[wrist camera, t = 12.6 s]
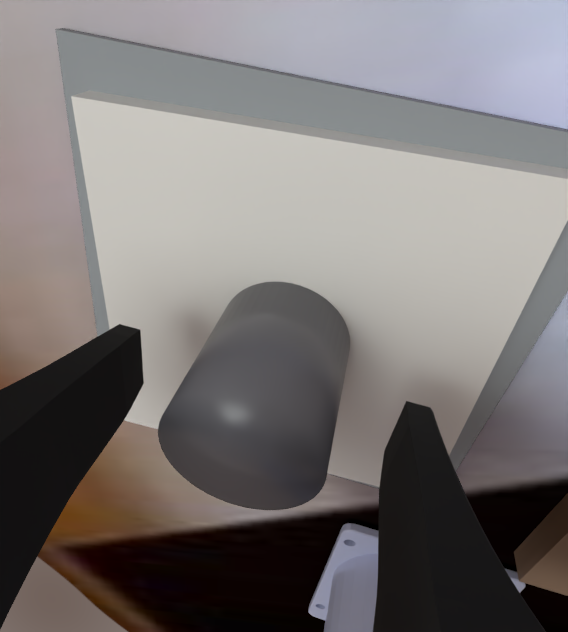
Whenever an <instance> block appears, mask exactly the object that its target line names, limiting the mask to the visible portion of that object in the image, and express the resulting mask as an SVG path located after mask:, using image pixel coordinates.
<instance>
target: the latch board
mask: <svg viewBox="0 0 568 632" xmlns="http://www.w3.org/2000/svg"><path fill="white" fill-rule="evenodd" d="M514 556H515V561H516V567H517V573H518V579H519V581H520V582H523V583H527V584H530V585H533V586H537V587H540V588H543V589H547V590H550V591H553V592H557V593H560V594H563V595H567V596H568V493H567V494H566V495H565V497H564V498H563V499H562V500H561V501H560V502H559V503H558V504H557V505H556V506H555V507H554V509H553V510H552V511H551V512H550V513H549V514H548V515H547V516H546V517H545V518H544V519H543V521H542V522H541V523H540V524H539V525H538V526H537V527H536V528H535V529H534V530H533V531H532V533H531V534H530V535H529V536H528V537H527V538H526V539H525V540H524V541H523V542H522V544H521V545H520V546H519V547H518V548H517V549H516V550H515V551H514Z"/></svg>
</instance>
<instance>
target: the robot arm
mask: <svg viewBox="0 0 568 632" xmlns="http://www.w3.org/2000/svg"><path fill="white" fill-rule="evenodd" d="M143 384H144V379H143V363H142V348H141V332H140V329H136V328H132V327H129V326H125V325H121V324H119V325H117V326H115V327H113V328H112V329H110V330H108V331H106V332H105V333H103V334H101V335H100V336H98V337H96V338H95V339H93V340H91V341H89V342H88V343H86V344H84V345H83V346H81V347H79V348H78V349H76V350H74V351H73V352H71V353H69V354H67V355H66V356H64V357H62V358H60V359H58V360H57V361H55V362H53V363H51V364H50V365H48V366H46V367H44V368H42V369H40V370H38V371H37V372H35V373H33V374H31V375H29V376H27V377H25V378H23V379H21V380H19V381H17V382H15V383H13V384H11V385H10V386H7V387H5V388H3V389H1V390H0V629H1V627H2V624H3V622H4V620H5V618H6V616H7V614H8V612H9V610H10V608H11V606H12V604H13V602H14V600H15V598H16V596H17V594H18V592H19V590H20V588H21V586H22V584H23V582H24V580H25V578H26V576H27V574H28V572H29V571H30V569H31V567H32V565H33V563H34V561H35V559H36V557H37V556H38V554H39V552H40V550H41V548H42V546H43V544H44V543H45V541H46V539H47V537H48V535H49V533H50V532H51V530H52V528H53V526H54V525H55V523H56V521H57V519H58V518H59V516H60V514H61V512H62V511H63V509H64V507H65V505H66V503H67V502H68V500H69V498H70V497H71V495H72V494H73V492H74V491H75V489H76V488H77V486H78V484H79V483H80V482H81V480H82V479H83V477H84V476H85V474H86V473H87V472H88V470H89V469H90V467H91V466H92V465H93V463H94V462H95V460H96V459H97V457H98V456H99V455H100V453H101V452H102V450H103V449H104V448H105V446H106V445H107V443H108V442H109V441H110V439H111V438H112V436H113V435H114V433H115V432H116V431H117V429H118V428H119V426H120V425H121V423H122V422H123V420H124V419H125V417H126V416H127V414H128V412H129V411H130V409H131V407H132V405H133V403H134V401H135V400H136V398H137V396H138V394H139V392H140V390H141V388H142V386H143ZM524 588H525V583H523V582H520V581H519V579H518V573H517V572H515V571H512V570H509V569H505V568H504V567H503V565H502V563H501V562H500V560H499V558H498V556H497V555H496V553H495V551H494V549H493V548H492V546H491V544H490V542H489V540H488V539H487V537H486V535H485V533H484V531H483V529H482V527H481V525H480V523H479V521H478V519H477V517H476V515H475V513H474V511H473V509H472V507H471V505H470V503H469V501H468V499H467V497H466V494H465V492H464V490H463V488H462V485H461V483H460V481H459V478H458V476H457V474H456V472H455V469H454V467H453V465H452V462H451V460H450V457H449V455H448V452H447V449H446V447H445V444H444V442H443V439H442V436H441V433H440V431H439V428H438V425H437V422H436V419H435V416H434V413H433V411H432V409H431V408H430V407H427V406H423V405H420V404H416V403H412V402H408V401H406V403H405V405H404V407H403V409H402V412H401V414H400V416H399V419H398V421H397V423H396V425H395V428H394V430H393V432H392V434H391V437H390V439H389V441H388V443H387V446H386V448H385V450H384V456H383V464H382V471H381V479H380V487H379V530H375V529H371V528H368V527H364V526H361V525H358V524H354V523H347V524H344V525H343V526H342V528H341V531H340V533H339V535H338V538H337V540H336V542H335V545H334V547H333V550H332V552H331V554H330V557H329V559H328V562H327V564H326V566H325V569H324V571H323V573H322V576H321V578H320V581H319V583H318V585H317V588H316V590H315V593H314V595H313V597H312V600H311V602H310V604H309V613H310V614H311V615H312V616H314V617H317V618H320V619H323V620H325V627H324V632H546V631H545V630H544V628H543V627H542V625H541V624H540V623H539V621H538V620H537V618H536V617H535V615H534V614H533V612H532V611H531V609H530V608H529V607H528V605H527V604H526V602H525V601H524V599H523V598H522V596H521V594H520V592H521V591H522V590H523V589H524Z"/></svg>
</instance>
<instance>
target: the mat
mask: <svg viewBox="0 0 568 632" xmlns="http://www.w3.org/2000/svg"><path fill="white" fill-rule="evenodd" d="M56 36H57V44H58V51H59V58H60V66H61V73H62V80H63V87H64V95H65V102H66V109H67V117H68V124H69V131H70V138H71V146H72V153H73V160H74V168H75V175H76V182H77V190H78V197H79V204H80V211H81V219H82V226H83V233H84V241H85V248H86V255H87V263H88V270H89V277H90V284H91V292H92V299H93V306H94V314H95V321H96V328H97V335H98V336H100V335H101V334H103V333H105V332H106V331H108V330H110V329H109V323H108V317H107V311H106V305H105V299H104V292H103V286H102V280H101V274H100V268H99V262H98V256H97V250H96V244H95V238H94V232H93V226H92V220H91V214H90V208H89V202H88V196H87V190H86V184H85V178H84V172H83V166H82V159H81V153H80V147H79V141H78V135H77V129H76V123H75V117H74V111H73V105H72V99H71V96H73V95H76V94H80V93H83V92H86V91H89V90H90V91H96V92H102V93H108V94H114V95H120V96H127V97H133V98H139V99H145V100H151V101H157V102H163V103H169V104H175V105H181V106H187V107H194V108H200V109H206V110H212V111H218V112H224V113H230V114H236V115H242V116H248V117H255V118H261V119H267V120H273V121H279V122H285V123H291V124H297V125H303V126H309V127H315V128H322V129H328V130H334V131H340V132H346V133H352V134H358V135H364V136H370V137H376V138H382V139H389V140H395V141H401V142H407V143H413V144H419V145H425V146H431V147H437V148H443V149H449V150H456V151H462V152H468V153H474V154H480V155H486V156H492V157H498V158H504V159H510V160H517V161H523V162H529V163H535V164H541V165H547V166H553V167H559V168H565V169H568V130H566V129H561V128H556V127H551V126H547V125H542V124H537V123H532V122H527V121H522V120H517V119H512V118H507V117H502V116H497V115H492V114H487V113H482V112H477V111H472V110H467V109H462V108H457V107H452V106H447V105H442V104H437V103H432V102H427V101H422V100H417V99H412V98H407V97H402V96H397V95H392V94H387V93H382V92H377V91H372V90H367V89H363V88H358V87H353V86H348V85H343V84H338V83H333V82H328V81H323V80H318V79H313V78H308V77H303V76H298V75H293V74H288V73H283V72H278V71H273V70H268V69H263V68H258V67H253V66H248V65H243V64H238V63H233V62H228V61H223V60H218V59H213V58H208V57H203V56H198V55H193V54H188V53H183V52H179V51H174V50H169V49H164V48H159V47H154V46H149V45H144V44H139V43H134V42H129V41H124V40H119V39H114V38H109V37H104V36H99V35H94V34H89V33H84V32H79V31H74V30H69V29H64V28H61V29H56ZM567 291H568V221H567V223H566V225H565V227H564V229H563V231H562V233H561V235H560V237H559V239H558V241H557V242H556V244H555V246H554V248H553V250H552V252H551V254H550V256H549V258H548V260H547V262H546V264H545V266H544V268H543V270H542V272H541V274H540V276H539V278H538V280H537V282H536V284H535V286H534V288H533V290H532V292H531V294H530V296H529V298H528V300H527V302H526V304H525V306H524V308H523V310H522V312H521V314H520V316H519V318H518V320H517V322H516V324H515V326H514V328H513V330H512V332H511V334H510V336H509V338H508V340H507V342H506V344H505V346H504V348H503V350H502V352H501V354H500V356H499V358H498V360H497V362H496V364H495V366H494V368H493V370H492V372H491V374H490V376H489V378H488V380H487V382H486V383H485V385H484V387H483V389H482V391H481V393H480V395H479V397H478V399H477V401H476V403H475V405H474V407H473V409H472V411H471V413H470V415H469V417H468V419H467V421H466V423H465V425H464V427H463V429H462V431H461V433H460V435H459V437H458V439H457V441H456V443H455V445H454V447H453V449H452V451H451V453H450V455H449V457H450V460H451V462H452V465H453V467H454V469H455V472H456V470H457V468H458V467H459V465H460V464H461V462H462V460H463V459H464V457H465V456H466V454H467V452H468V451H469V449H470V447H471V446H472V444H473V443H474V441H475V439H476V438H477V436H478V435H479V433H480V431H481V430H482V428H483V427H484V425H485V423H486V422H487V420H488V418H489V417H490V415H491V414H492V412H493V410H494V409H495V407H496V406H497V404H498V402H499V401H500V399H501V398H502V396H503V394H504V393H505V391H506V390H507V388H508V386H509V385H510V383H511V381H512V380H513V378H514V377H515V375H516V373H517V372H518V370H519V369H520V367H521V365H522V364H523V362H524V361H525V359H526V357H527V356H528V354H529V352H530V351H531V349H532V348H533V346H534V344H535V343H536V341H537V340H538V338H539V336H540V335H541V333H542V332H543V330H544V328H545V327H546V325H547V323H548V322H549V320H550V319H551V317H552V315H553V314H554V312H555V311H556V309H557V307H558V306H559V304H560V303H561V301H562V299H563V298H564V296H565V295H566V293H567ZM327 474H328V473H327ZM330 475H332V474H330ZM333 476H335V475H333ZM337 477H339V476H337ZM340 478H343V477H340ZM344 479H347V478H344ZM347 480H351V479H347ZM351 481H354V482H358V481H355V480H351ZM358 483H361V484H364V485H368V486H371V487H375V488H378V489H379V487H378V486H374V485H370V484H366V483H362V482H358Z"/></svg>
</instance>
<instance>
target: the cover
mask: <svg viewBox="0 0 568 632" xmlns="http://www.w3.org/2000/svg"><path fill="white" fill-rule="evenodd" d="M71 99H72V105H73V111H74V117H75V123H76V129H77V135H78V141H79V147H80V153H81V159H82V166H83V172H84V178H85V184H86V190H87V196H88V202H89V208H90V214H91V220H92V226H93V232H94V238H95V244H96V250H97V256H98V262H99V268H100V274H101V280H102V286H103V292H104V299H105V305H106V311H107V317H108V323H109V329H112V328H113V327H115V326H117V325H119V324H121V325H125V326H129V327H132V328H136V329H140V332H141V348H142V363H143V379H144V384H143V386H142V388H141V390H140V392H139V394H138V396H137V398H136V400H135V401H134V403H133V405H132V407H131V409H130V411H129V412H128V414H127V416H126V417H125V421H128V422H132V423H136V424H140V425H144V426H147V427H151V428H155V429H158V437H159V442H160V445H161V448H162V450H163V452H164V454H165V456H166V458H167V459H168V460H169V462H170V463H171V465H172V466H173V467H174V468H175V469H176V470H177V471H178V472H179V473H180V474H181V475H182V476H183V477H184V478H185V479H186V480H188V481H189V482H190V483H191V484H193V485H194V486H196V487H197V488H199V489H201V490H202V491H204V492H206V493H208V494H209V495H212V496H214V497H216V498H218V499H220V500H223V501H225V502H228V503H231V504H235V505H238V506H242V507H246V508H252V509H261V510H280V509H288V508H293V507H296V506H299V505H302V504H304V503H306V502H308V501H309V500H311V499H312V498H314V497H315V496H316V495H317V494H318V493H319V492H320V490H321V489H322V487H323V486H324V483H325V480H326V476H327V473H328V474H332V475H335V476H339V477H343V478H347V479H351V480H355V481H358V482H362V483H366V484H370V485H374V486H378V487H380V479H381V471H382V464H383V456H384V450H385V448H386V446H387V443H388V441H389V439H390V437H391V434H392V432H393V430H394V428H395V425H396V423H397V421H398V419H399V416H400V414H401V412H402V409H403V407H404V405H405V403H406V401H408V402H412V403H416V404H420V405H423V406H427V407H430V408H431V409H432V411H433V413H434V416H435V419H436V422H437V425H438V428H439V431H440V433H441V436H442V439H443V442H444V444H445V447H446V449H447V452H448V455H450V453H451V451H452V449H453V447H454V445H455V443H456V441H457V439H458V437H459V435H460V433H461V431H462V429H463V427H464V425H465V423H466V421H467V419H468V417H469V415H470V413H471V411H472V409H473V407H474V405H475V403H476V401H477V399H478V397H479V395H480V393H481V391H482V389H483V387H484V385H485V383H486V382H487V380H488V378H489V376H490V374H491V372H492V370H493V368H494V366H495V364H496V362H497V360H498V358H499V356H500V354H501V352H502V350H503V348H504V346H505V344H506V342H507V340H508V338H509V336H510V334H511V332H512V330H513V328H514V326H515V324H516V322H517V320H518V318H519V316H520V314H521V312H522V310H523V308H524V306H525V304H526V302H527V300H528V298H529V296H530V294H531V292H532V290H533V288H534V286H535V284H536V282H537V280H538V278H539V276H540V274H541V272H542V270H543V268H544V266H545V264H546V262H547V260H548V258H549V256H550V254H551V252H552V250H553V248H554V246H555V244H556V242H557V241H558V239H559V237H560V235H561V233H562V231H563V229H564V227H565V225H566V223H567V221H568V169H565V168H559V167H553V166H547V165H541V164H535V163H529V162H523V161H517V160H510V159H504V158H498V157H492V156H486V155H480V154H474V153H468V152H462V151H456V150H449V149H443V148H437V147H431V146H425V145H419V144H413V143H407V142H401V141H395V140H389V139H382V138H376V137H370V136H364V135H358V134H352V133H346V132H340V131H334V130H328V129H322V128H315V127H309V126H303V125H297V124H291V123H285V122H279V121H273V120H267V119H261V118H255V117H248V116H242V115H236V114H230V113H224V112H218V111H212V110H206V109H200V108H194V107H187V106H181V105H175V104H169V103H163V102H157V101H151V100H145V99H139V98H133V97H127V96H120V95H114V94H108V93H102V92H96V91H90V90H89V91H86V92H83V93H80V94H76V95H73V96H71Z"/></svg>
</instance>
